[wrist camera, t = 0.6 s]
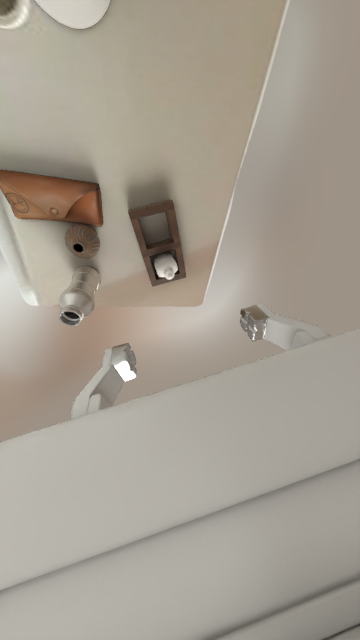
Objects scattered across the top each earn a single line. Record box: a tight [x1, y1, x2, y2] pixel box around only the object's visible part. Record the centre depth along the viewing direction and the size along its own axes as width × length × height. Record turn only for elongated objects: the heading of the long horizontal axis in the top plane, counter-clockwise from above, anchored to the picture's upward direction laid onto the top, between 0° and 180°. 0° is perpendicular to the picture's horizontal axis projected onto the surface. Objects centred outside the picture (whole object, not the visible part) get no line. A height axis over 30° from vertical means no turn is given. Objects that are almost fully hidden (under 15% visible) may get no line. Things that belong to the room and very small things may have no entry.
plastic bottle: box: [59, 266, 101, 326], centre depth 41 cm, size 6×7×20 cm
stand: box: [129, 200, 186, 287], centre depth 46 cm, size 19×10×4 cm, turn 11°
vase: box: [65, 224, 100, 258], centre depth 40 cm, size 7×7×9 cm
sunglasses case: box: [0, 170, 103, 226], centre depth 36 cm, size 18×7×7 cm, turn 84°
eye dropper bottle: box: [153, 254, 178, 280], centre depth 46 cm, size 4×6×12 cm
